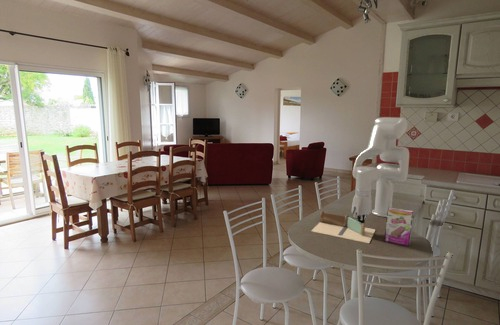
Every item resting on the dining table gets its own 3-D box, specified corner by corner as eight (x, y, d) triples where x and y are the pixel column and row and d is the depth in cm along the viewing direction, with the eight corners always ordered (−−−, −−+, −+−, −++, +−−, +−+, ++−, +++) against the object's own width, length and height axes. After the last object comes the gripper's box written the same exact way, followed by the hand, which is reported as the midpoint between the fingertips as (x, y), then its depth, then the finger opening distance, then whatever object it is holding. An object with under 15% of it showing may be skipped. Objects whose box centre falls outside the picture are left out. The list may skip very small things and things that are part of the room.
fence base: (320, 221, 177) (320, 210, 175) (348, 227, 169) (349, 215, 168) (319, 222, 175) (319, 211, 174) (347, 228, 167) (348, 216, 166)
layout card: (322, 220, 179) (322, 219, 179) (375, 230, 165) (375, 229, 164) (310, 231, 162) (311, 230, 162) (369, 243, 148) (369, 242, 147)
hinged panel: (349, 226, 167) (349, 216, 166) (365, 234, 156) (365, 223, 155) (346, 227, 167) (347, 216, 166) (362, 235, 156) (363, 224, 155)
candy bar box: (384, 241, 150) (386, 209, 147) (385, 238, 154) (388, 206, 152) (409, 246, 145) (413, 213, 142) (410, 243, 149) (413, 210, 146)
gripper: (367, 189, 165) (365, 222, 169) (346, 193, 158) (345, 226, 162) (379, 192, 159) (376, 226, 162) (358, 196, 152) (356, 231, 155)
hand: (360, 226), depth 162 cm, fingers closed
